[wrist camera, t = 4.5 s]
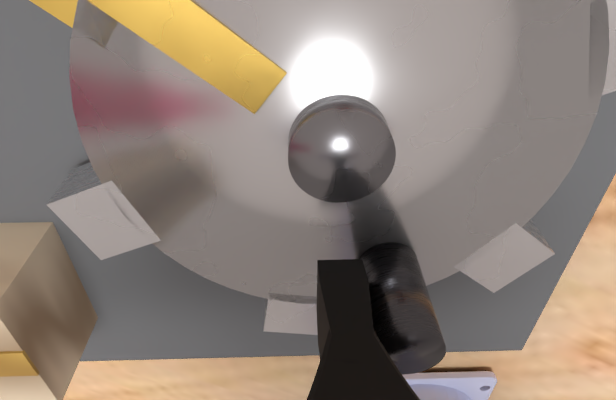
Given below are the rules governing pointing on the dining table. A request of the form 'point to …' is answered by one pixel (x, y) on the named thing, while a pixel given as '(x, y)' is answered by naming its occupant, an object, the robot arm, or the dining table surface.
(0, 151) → the mat
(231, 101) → the sprocket
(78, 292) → the banded wooden block
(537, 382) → the dining table surface
